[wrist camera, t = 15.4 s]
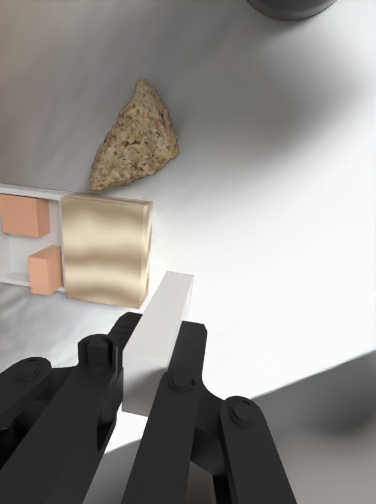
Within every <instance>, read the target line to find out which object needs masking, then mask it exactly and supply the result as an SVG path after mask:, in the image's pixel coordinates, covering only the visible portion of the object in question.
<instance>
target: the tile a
mask: <svg viewBox="0 0 376 504" xmlns="http://www.w3.org/2000/svg"><path fill="white" fill-rule="evenodd" d="M0 212H1V220H2V228H3V232H5V233H12V234H18V235H25V236H32V237H41V236H44V235H46V234H48V233H50V218H49V202H48V199H46V198H38V197H30V196H22V195H14V194H6V193H0Z"/></svg>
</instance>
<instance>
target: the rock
mask: <svg viewBox="0 0 376 504" xmlns="http://www.w3.org/2000/svg"><path fill="white" fill-rule="evenodd" d="M177 140H178V139H177V137H176V134H175V132H174V130H173V127H172V124H171V122H170V121H169V115H168V110H167V108H166V107H165V106H164V105H163V104H162V103H161V100H160V98H159V95H158V94H157V91H156V89H155V88H154V87H152V86H151V85H150V84H149V82H148V81H147V80H146V79H141V78H140V79H138V80H137V83H136V87H135V91H134V94H133V96H132V99H131V101H130V102H129V103H128V104H127V105H126V106H125V107H124V108H123V110H122V111H121V112H120V113H119V116H118V120H117V123H116V124H115V125H114V126H113V127H112V129H111V131H109V132H108V134H107V136H106V138H105V140H104V143H103V144H102V145H100V147H99V149H98V151H97V154H96V157H95V160H94V163H93V165H92V167H91V169H92V172H91V175H90V178H89V181H90V188H91V189H92V190H98V191H100V190H105V189H106V188H110V187H117V186H118V185H120V186H126V185H128V184H130V183H132V182H134V181H135V180H137V179H141V178H143V177H145V176H150V175H154V174H155V173H156V172H158V171H159V170H160V169H161V168H162V167H163V166H164V165H165V164H166V162H167V161H169V160H171V159H173V158H175V157H177V156H178V155H179V150H178V146H177Z"/></svg>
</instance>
